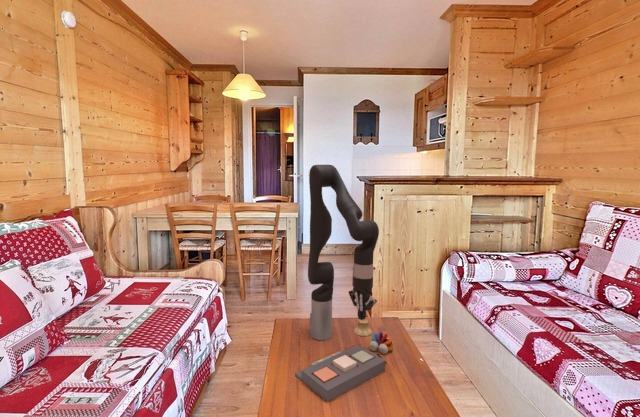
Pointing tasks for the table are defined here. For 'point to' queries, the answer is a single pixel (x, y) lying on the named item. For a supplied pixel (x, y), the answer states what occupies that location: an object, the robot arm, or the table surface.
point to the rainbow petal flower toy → (381, 343)
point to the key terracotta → (325, 374)
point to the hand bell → (363, 328)
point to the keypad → (341, 374)
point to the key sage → (362, 357)
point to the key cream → (344, 364)
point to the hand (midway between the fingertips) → (361, 318)
